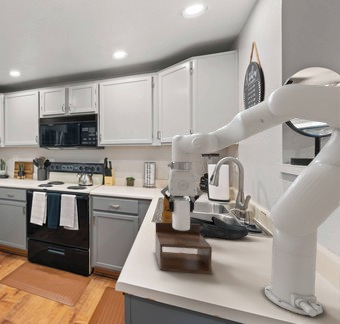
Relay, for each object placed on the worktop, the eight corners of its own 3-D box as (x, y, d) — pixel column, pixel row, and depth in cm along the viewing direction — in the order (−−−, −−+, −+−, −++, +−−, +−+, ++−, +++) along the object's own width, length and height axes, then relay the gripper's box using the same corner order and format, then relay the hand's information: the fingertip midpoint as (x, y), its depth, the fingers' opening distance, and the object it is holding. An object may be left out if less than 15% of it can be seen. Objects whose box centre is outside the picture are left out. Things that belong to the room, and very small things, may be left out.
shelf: (211, 274, 81) (211, 236, 80) (160, 270, 84) (160, 233, 83) (199, 256, 95) (199, 223, 94) (155, 253, 98) (155, 222, 97)
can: (172, 230, 87) (172, 199, 86) (172, 225, 93) (172, 196, 92) (190, 232, 85) (191, 200, 84) (188, 226, 91) (189, 197, 90)
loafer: (252, 241, 110) (252, 221, 109) (190, 238, 114) (190, 218, 114) (241, 233, 120) (241, 215, 120) (184, 231, 125) (185, 213, 124)
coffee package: (163, 233, 121) (163, 193, 120) (188, 238, 114) (188, 196, 113) (158, 239, 113) (158, 196, 112) (184, 245, 106) (184, 199, 105)
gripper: (160, 167, 85) (159, 213, 86) (208, 167, 82) (207, 215, 83) (157, 166, 93) (157, 208, 93) (202, 166, 90) (201, 209, 91)
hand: (181, 211), depth 88 cm, fingers closed on can, 6 cm apart
